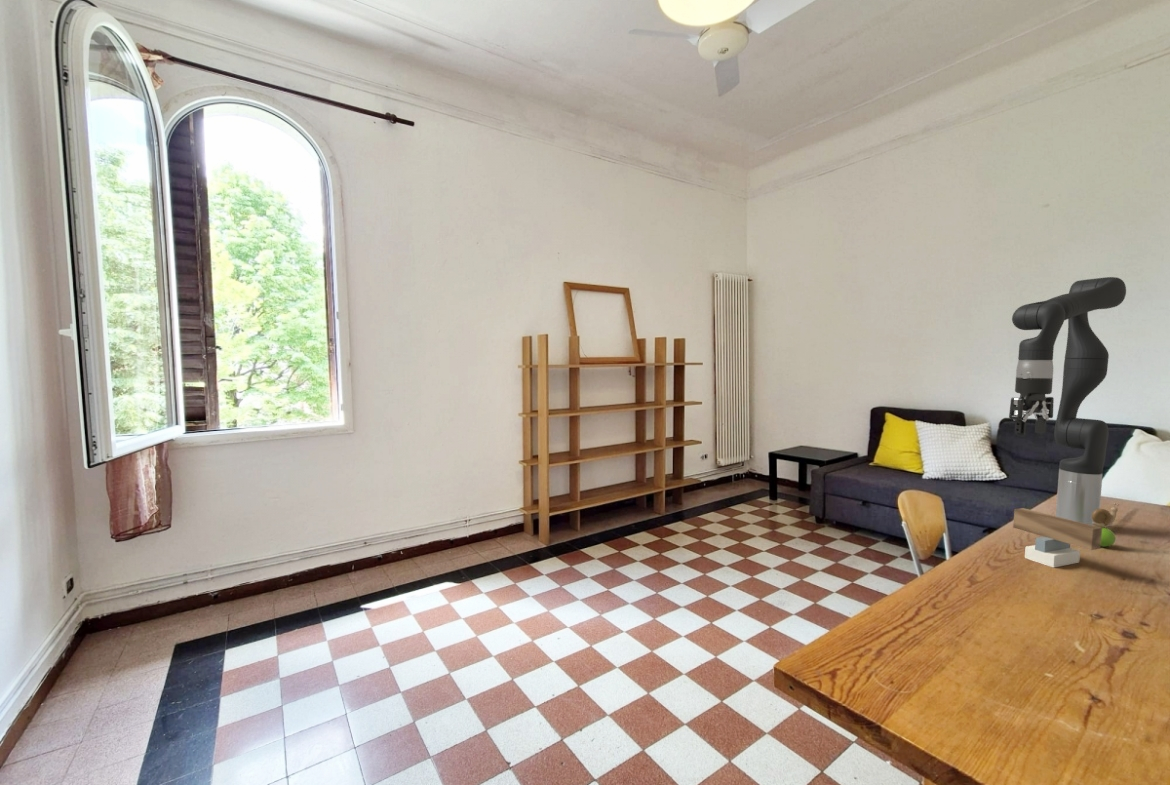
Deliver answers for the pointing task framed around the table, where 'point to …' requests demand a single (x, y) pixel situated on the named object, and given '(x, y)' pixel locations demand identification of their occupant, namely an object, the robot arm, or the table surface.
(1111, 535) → the snail figurine
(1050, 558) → the white grey stepped block
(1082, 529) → the walnut bar
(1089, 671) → the table surface
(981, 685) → the table surface
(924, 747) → the table surface
